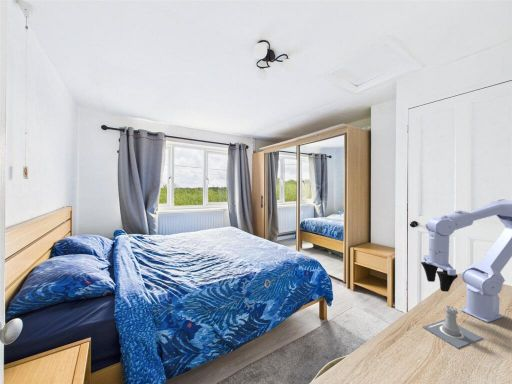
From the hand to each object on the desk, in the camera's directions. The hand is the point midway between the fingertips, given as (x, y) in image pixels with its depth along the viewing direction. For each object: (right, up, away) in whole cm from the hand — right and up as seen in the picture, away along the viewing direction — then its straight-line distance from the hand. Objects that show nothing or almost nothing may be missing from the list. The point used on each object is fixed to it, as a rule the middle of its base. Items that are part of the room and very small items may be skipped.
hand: (437, 285), depth 82 cm
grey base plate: (-4, -11, -11) cm, 16 cm away
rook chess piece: (-5, -11, -11) cm, 16 cm away
